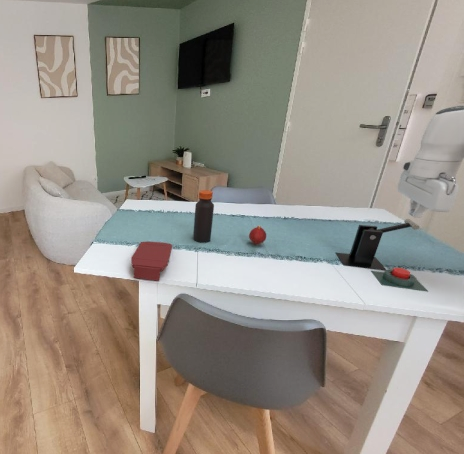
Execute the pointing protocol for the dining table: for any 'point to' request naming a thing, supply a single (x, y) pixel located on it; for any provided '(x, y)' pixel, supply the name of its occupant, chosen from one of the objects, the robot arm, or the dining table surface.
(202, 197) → the vinegar
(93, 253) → the dining table surface
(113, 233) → the dining table surface
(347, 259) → the switch bracket
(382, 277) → the button panel
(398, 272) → the button
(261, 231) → the onion
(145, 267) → the red lidded container
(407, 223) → the switch lever
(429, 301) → the dining table surface
